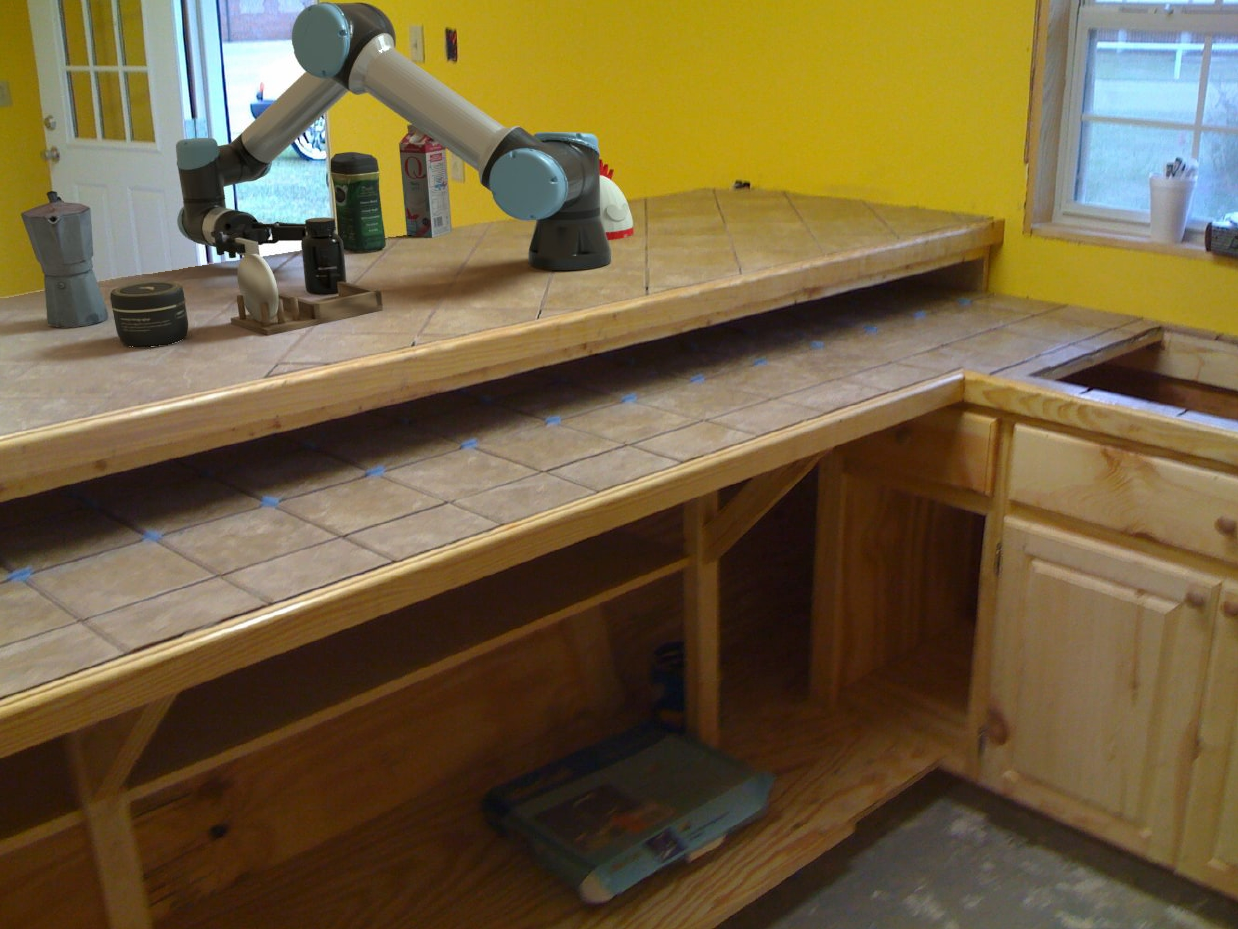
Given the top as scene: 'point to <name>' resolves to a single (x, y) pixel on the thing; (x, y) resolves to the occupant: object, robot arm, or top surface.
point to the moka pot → (66, 261)
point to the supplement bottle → (322, 257)
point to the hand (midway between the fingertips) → (293, 244)
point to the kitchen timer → (613, 207)
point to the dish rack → (293, 301)
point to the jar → (150, 313)
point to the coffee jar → (358, 201)
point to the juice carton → (424, 185)
